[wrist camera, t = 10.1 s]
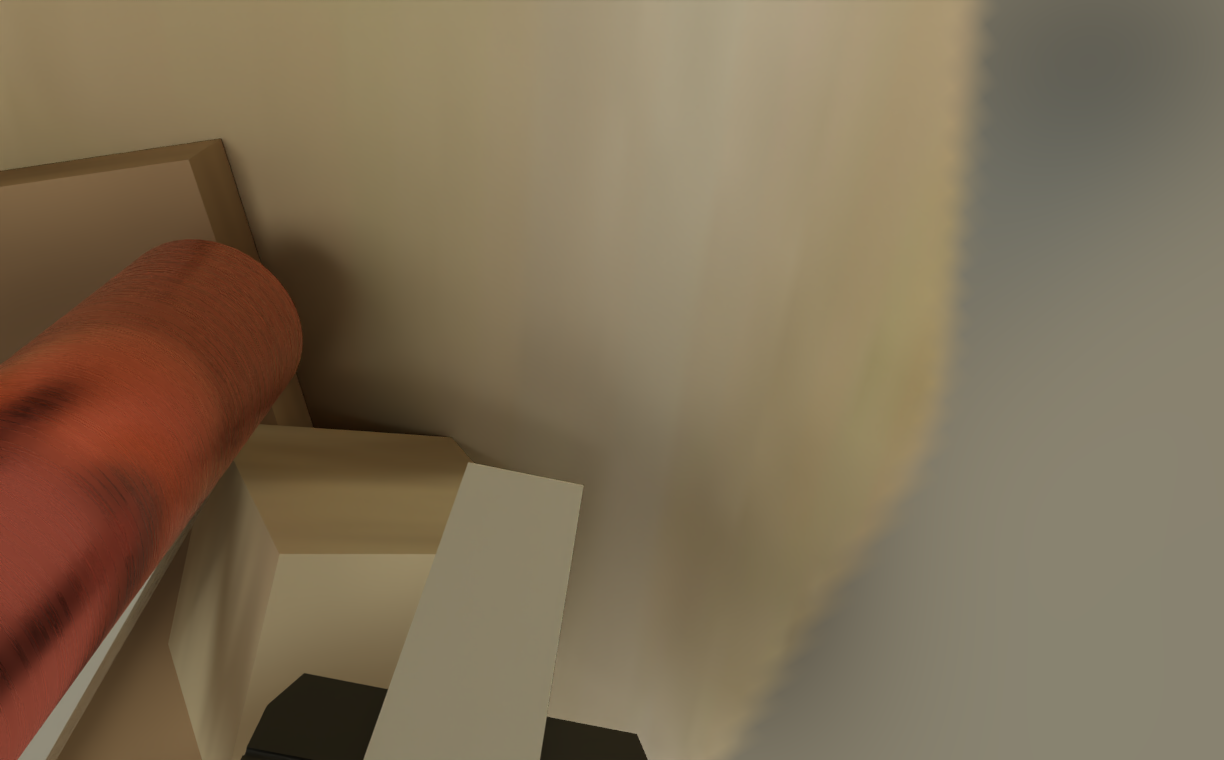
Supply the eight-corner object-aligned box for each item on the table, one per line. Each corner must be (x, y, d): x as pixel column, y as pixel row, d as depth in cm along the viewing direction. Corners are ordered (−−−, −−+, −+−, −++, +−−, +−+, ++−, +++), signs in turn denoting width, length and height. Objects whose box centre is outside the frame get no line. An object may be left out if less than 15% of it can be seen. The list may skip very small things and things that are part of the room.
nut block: (213, 420, 20) (279, 554, 17) (451, 436, 23) (555, 554, 19) (167, 644, 22) (218, 816, 18) (397, 633, 25) (484, 780, 21)
